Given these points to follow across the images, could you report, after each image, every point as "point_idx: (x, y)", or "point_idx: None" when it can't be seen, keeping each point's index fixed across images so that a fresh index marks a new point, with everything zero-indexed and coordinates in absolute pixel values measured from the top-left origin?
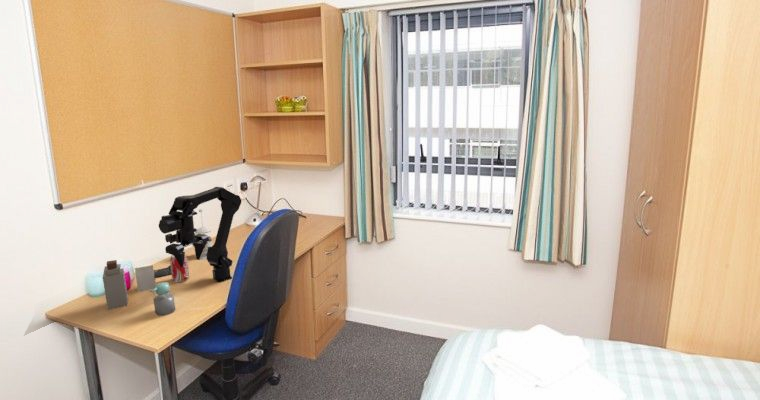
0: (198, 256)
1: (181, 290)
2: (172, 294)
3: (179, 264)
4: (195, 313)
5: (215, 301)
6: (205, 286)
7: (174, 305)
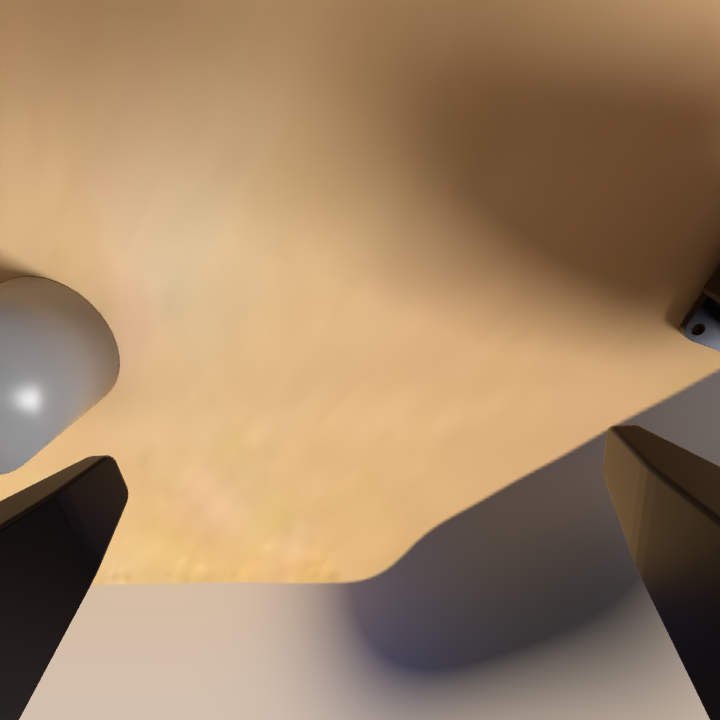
0: (636, 552)
1: (366, 109)
2: (35, 425)
3: (33, 499)
4: (169, 532)
5: (347, 535)
6: (547, 274)
7: (81, 415)
